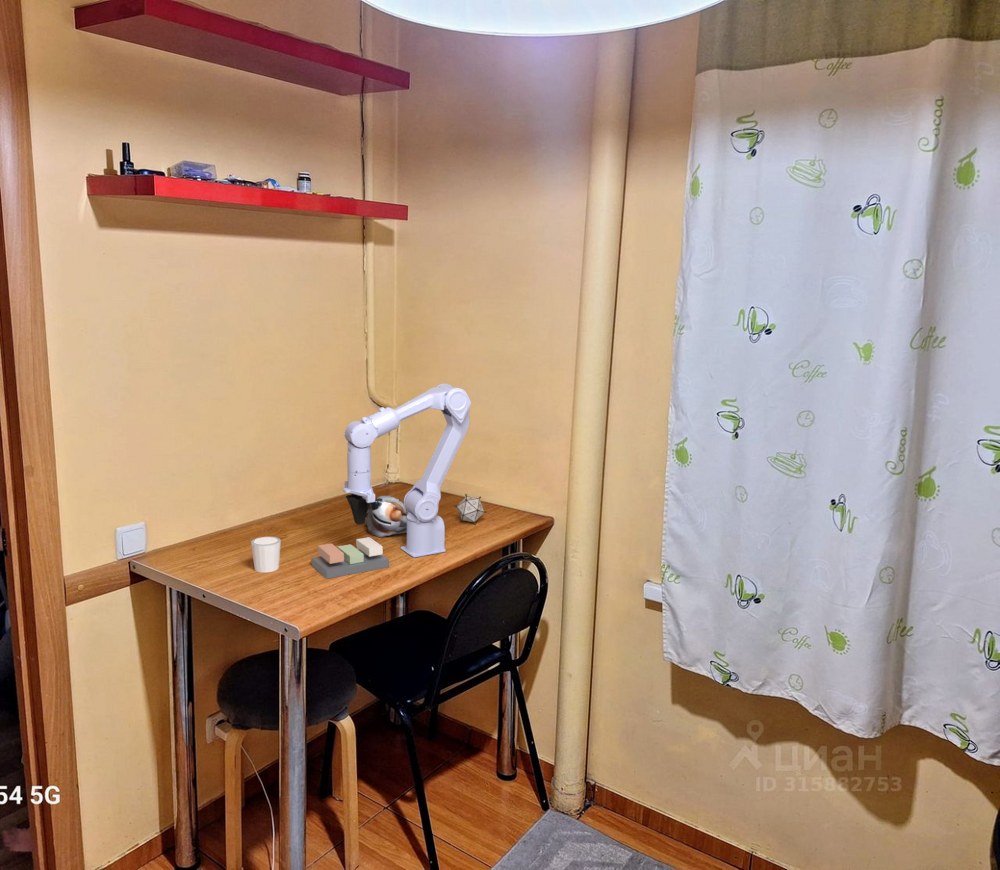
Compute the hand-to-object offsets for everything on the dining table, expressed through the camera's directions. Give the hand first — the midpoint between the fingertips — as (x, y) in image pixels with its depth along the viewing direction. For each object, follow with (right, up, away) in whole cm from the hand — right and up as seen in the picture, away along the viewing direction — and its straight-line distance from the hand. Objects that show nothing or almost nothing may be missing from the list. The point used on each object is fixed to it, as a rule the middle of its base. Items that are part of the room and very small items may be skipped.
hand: (359, 523), depth 197 cm
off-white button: (+3, -7, -1) cm, 7 cm away
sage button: (-2, -8, -4) cm, 9 cm away
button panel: (-2, -10, -3) cm, 11 cm away
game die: (+26, -4, +34) cm, 43 cm away
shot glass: (-21, -10, -6) cm, 25 cm away
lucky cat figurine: (+5, -5, +22) cm, 24 cm away
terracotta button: (-6, -7, -6) cm, 11 cm away
